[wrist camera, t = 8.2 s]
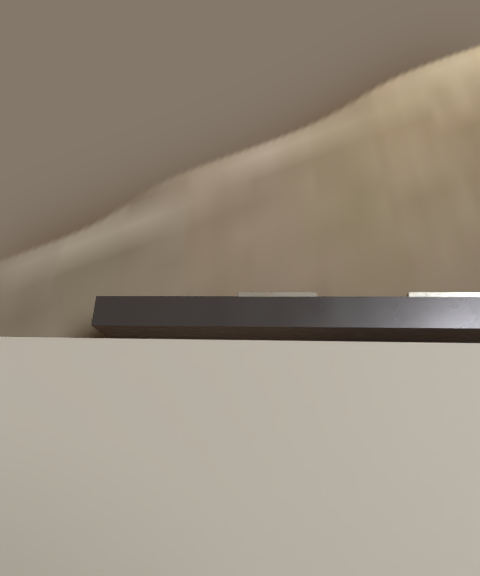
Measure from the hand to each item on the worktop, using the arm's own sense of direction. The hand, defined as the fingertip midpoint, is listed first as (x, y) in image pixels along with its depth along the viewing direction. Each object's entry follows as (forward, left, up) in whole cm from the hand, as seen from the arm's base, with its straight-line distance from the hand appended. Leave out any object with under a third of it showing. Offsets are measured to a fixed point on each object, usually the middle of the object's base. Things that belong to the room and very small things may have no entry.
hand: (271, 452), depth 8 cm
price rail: (+2, +4, -8) cm, 9 cm away
